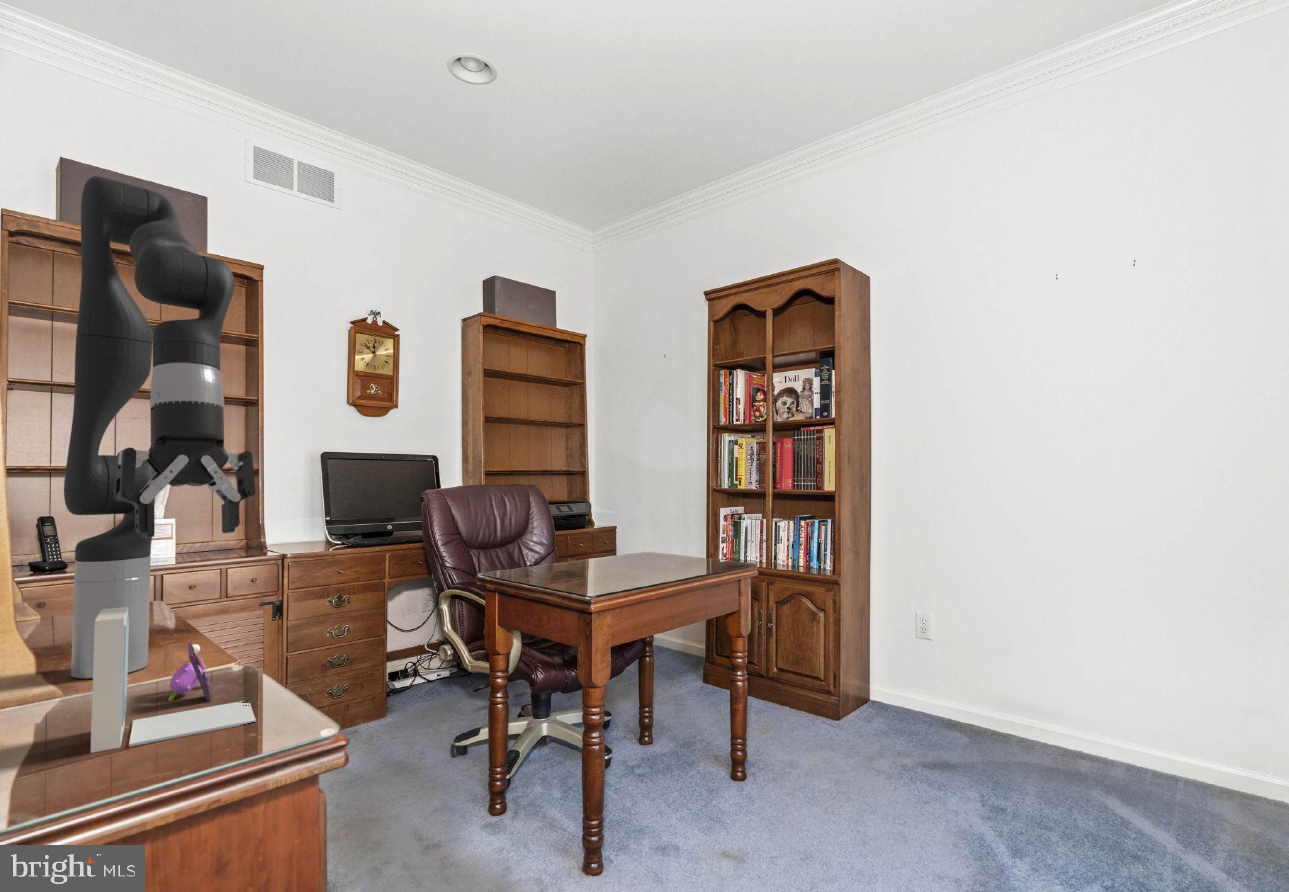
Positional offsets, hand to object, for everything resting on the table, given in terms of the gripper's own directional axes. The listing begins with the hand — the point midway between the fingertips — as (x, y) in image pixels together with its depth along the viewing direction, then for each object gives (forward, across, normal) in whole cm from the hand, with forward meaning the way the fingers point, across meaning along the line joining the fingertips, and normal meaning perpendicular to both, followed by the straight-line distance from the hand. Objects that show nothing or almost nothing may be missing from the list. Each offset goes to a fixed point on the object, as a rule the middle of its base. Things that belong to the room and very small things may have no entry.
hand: (189, 535), depth 80 cm
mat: (+22, -1, -2) cm, 23 cm away
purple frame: (+21, -4, -14) cm, 26 cm away
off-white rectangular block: (+22, +7, -4) cm, 24 cm away
